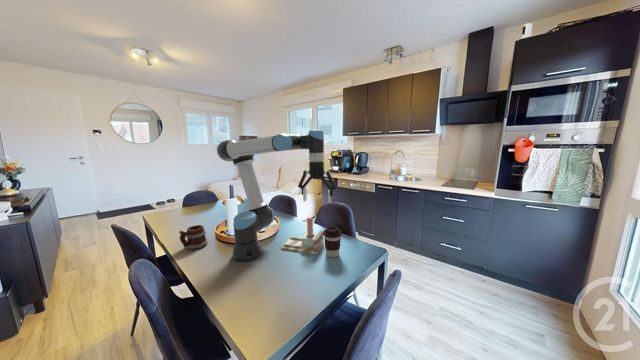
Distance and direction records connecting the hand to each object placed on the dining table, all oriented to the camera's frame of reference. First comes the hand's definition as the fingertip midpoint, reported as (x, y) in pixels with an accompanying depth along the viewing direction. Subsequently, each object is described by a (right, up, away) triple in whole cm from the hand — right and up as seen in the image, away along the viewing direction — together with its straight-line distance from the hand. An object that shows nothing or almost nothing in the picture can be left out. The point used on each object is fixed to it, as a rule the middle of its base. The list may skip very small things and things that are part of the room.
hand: (317, 201), depth 114 cm
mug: (-74, -29, +16) cm, 81 cm away
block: (-4, -27, +15) cm, 31 cm away
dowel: (-4, -26, +14) cm, 30 cm away
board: (-9, -28, +16) cm, 34 cm away
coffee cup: (+8, -30, +6) cm, 32 cm away
